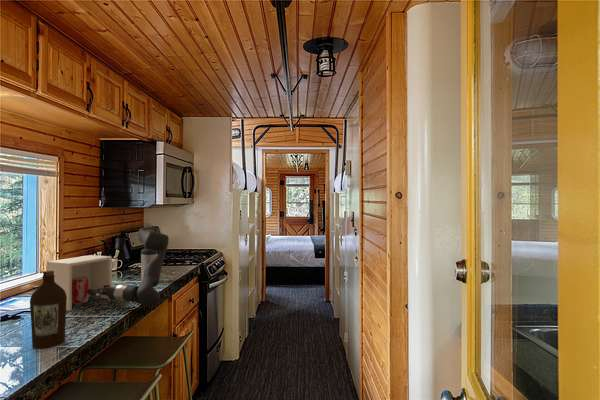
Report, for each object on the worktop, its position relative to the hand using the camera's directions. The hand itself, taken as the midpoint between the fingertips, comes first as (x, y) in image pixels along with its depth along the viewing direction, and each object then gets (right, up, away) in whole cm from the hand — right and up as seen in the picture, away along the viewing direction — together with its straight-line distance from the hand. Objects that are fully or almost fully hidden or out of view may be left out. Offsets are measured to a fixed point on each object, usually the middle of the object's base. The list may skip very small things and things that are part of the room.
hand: (96, 289), depth 176 cm
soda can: (-10, -8, +5) cm, 14 cm away
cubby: (-10, -8, +5) cm, 14 cm away
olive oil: (+9, -8, -47) cm, 48 cm away
